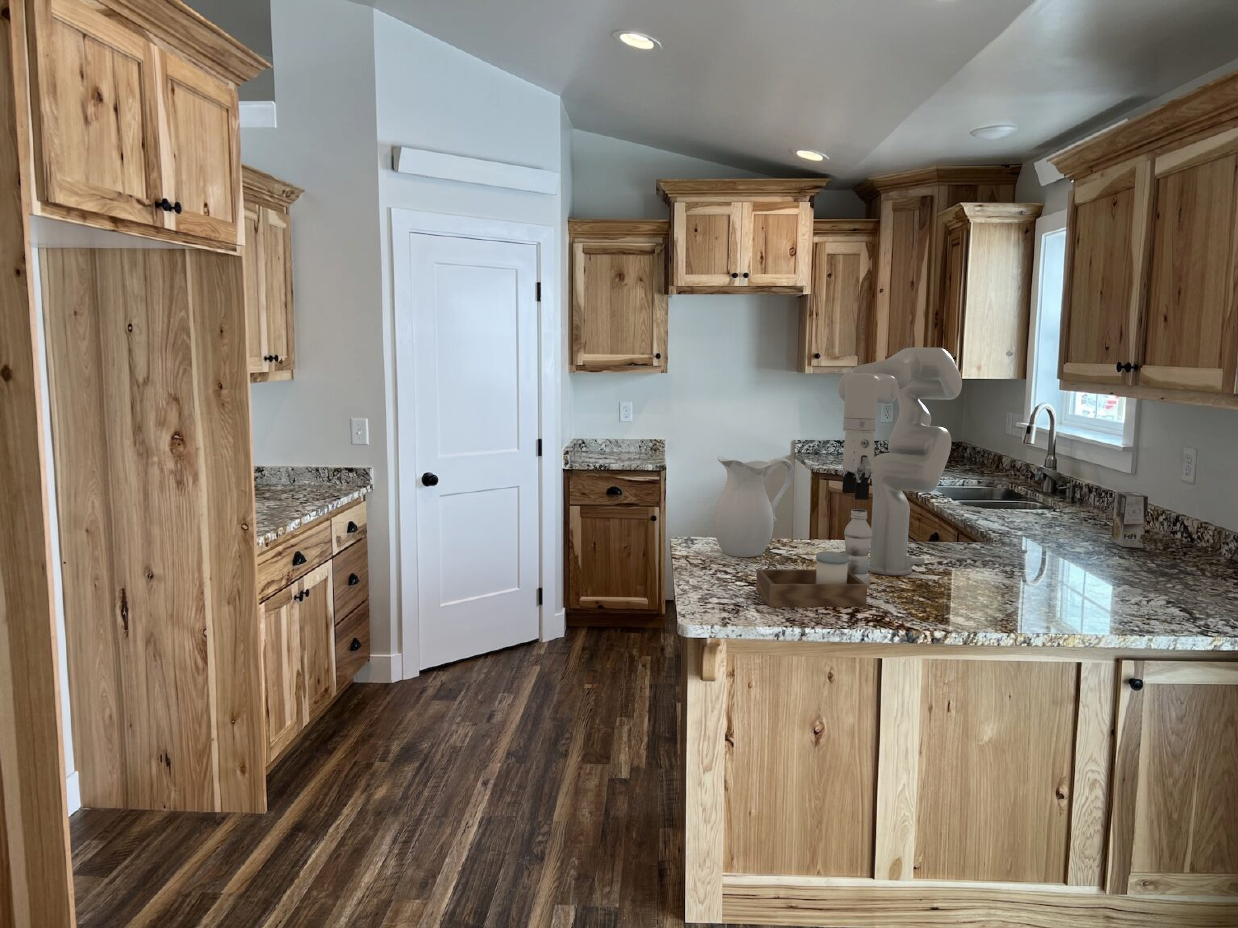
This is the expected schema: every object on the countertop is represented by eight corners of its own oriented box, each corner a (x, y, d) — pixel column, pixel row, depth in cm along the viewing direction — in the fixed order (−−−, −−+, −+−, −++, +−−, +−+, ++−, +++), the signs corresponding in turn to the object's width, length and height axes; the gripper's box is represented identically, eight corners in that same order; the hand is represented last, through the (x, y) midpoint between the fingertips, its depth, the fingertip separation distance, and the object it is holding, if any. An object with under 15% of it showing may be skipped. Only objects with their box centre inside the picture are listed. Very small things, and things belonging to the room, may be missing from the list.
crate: (845, 593, 204) (846, 569, 203) (866, 610, 190) (867, 585, 189) (755, 593, 203) (756, 569, 202) (770, 611, 189) (771, 585, 188)
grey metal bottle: (847, 585, 211) (851, 507, 208) (873, 590, 207) (877, 510, 204) (836, 591, 206) (840, 510, 203) (862, 596, 202) (867, 514, 199)
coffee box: (1144, 548, 259) (1149, 496, 257) (1121, 546, 260) (1126, 495, 258) (1132, 541, 268) (1137, 491, 266) (1110, 540, 269) (1115, 490, 267)
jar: (840, 593, 201) (842, 551, 199) (851, 602, 193) (853, 558, 192) (810, 593, 200) (812, 551, 199) (819, 602, 193) (821, 558, 191)
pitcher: (726, 561, 234) (729, 461, 230) (704, 547, 250) (707, 454, 246) (804, 557, 240) (809, 460, 236) (778, 544, 256) (781, 453, 252)
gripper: (887, 428, 194) (882, 502, 196) (863, 423, 211) (858, 491, 213) (855, 428, 193) (850, 501, 195) (833, 422, 211) (829, 490, 212)
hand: (854, 496), depth 204 cm, fingers open, 9 cm apart
